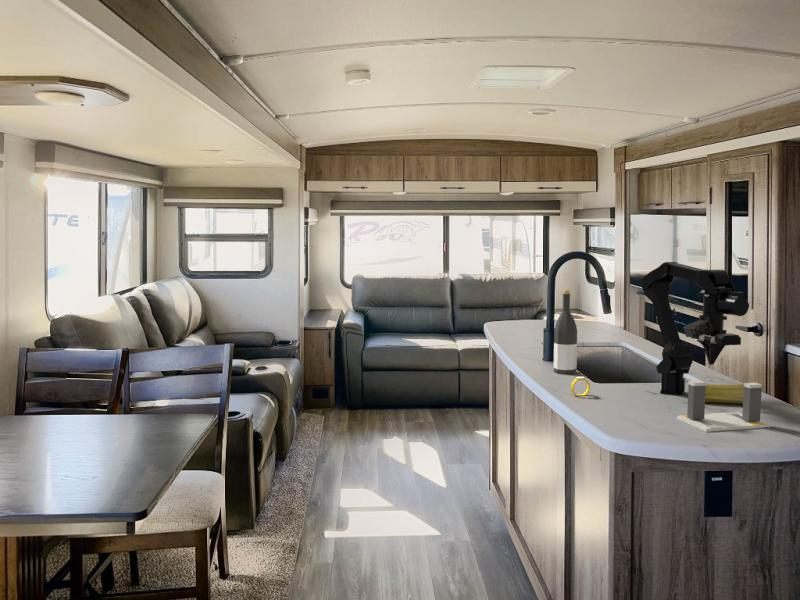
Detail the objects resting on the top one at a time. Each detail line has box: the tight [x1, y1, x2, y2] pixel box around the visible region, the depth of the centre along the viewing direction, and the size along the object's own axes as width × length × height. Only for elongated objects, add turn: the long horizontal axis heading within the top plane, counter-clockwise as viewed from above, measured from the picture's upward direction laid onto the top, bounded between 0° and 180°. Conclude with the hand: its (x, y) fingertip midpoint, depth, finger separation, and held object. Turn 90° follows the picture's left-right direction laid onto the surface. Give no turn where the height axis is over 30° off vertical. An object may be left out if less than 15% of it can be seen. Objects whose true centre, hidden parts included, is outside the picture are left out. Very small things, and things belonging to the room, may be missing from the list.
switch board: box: [677, 411, 771, 433], centre depth 198 cm, size 13×19×1 cm
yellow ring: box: [570, 376, 591, 397], centre depth 230 cm, size 6×3×6 cm, turn 103°
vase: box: [705, 383, 744, 405], centre depth 219 cm, size 6×6×14 cm
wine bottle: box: [553, 289, 578, 375], centre depth 263 cm, size 8×8×30 cm
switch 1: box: [686, 380, 707, 420], centre depth 199 cm, size 2×4×10 cm
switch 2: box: [742, 382, 763, 422], centre depth 196 cm, size 2×4×10 cm
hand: (711, 364), depth 217 cm, fingers closed
